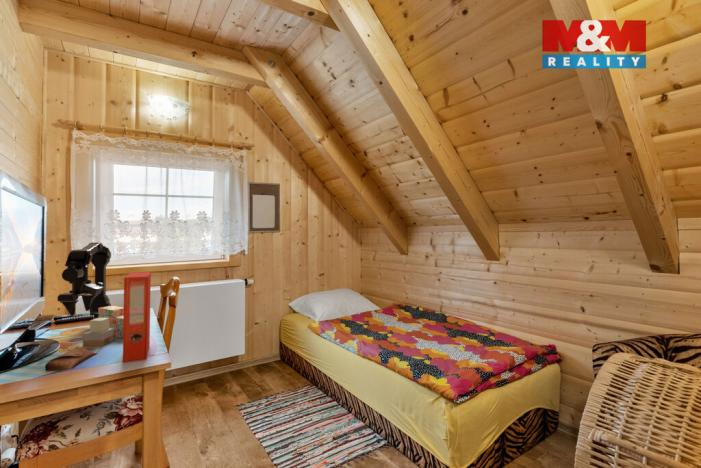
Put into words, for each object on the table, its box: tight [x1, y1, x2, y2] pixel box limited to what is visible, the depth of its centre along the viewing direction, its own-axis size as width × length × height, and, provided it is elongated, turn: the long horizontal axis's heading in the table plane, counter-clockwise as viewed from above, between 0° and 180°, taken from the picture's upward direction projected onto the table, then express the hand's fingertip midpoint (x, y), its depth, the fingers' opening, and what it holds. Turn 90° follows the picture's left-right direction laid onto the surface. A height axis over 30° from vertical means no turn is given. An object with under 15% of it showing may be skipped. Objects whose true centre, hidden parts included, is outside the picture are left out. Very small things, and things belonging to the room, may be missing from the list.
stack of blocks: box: [98, 305, 124, 339], centre depth 167 cm, size 21×6×12 cm, turn 63°
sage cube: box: [89, 318, 109, 332], centre depth 154 cm, size 5×5×5 cm
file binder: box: [122, 271, 152, 363], centre depth 140 cm, size 8×17×32 cm, turn 27°
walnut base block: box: [82, 335, 115, 347], centre depth 153 cm, size 8×8×3 cm
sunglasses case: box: [44, 346, 98, 372], centre depth 132 cm, size 18×7×7 cm, turn 10°
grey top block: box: [82, 328, 114, 341], centre depth 153 cm, size 8×8×3 cm
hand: (80, 313), depth 155 cm, fingers open, 9 cm apart
